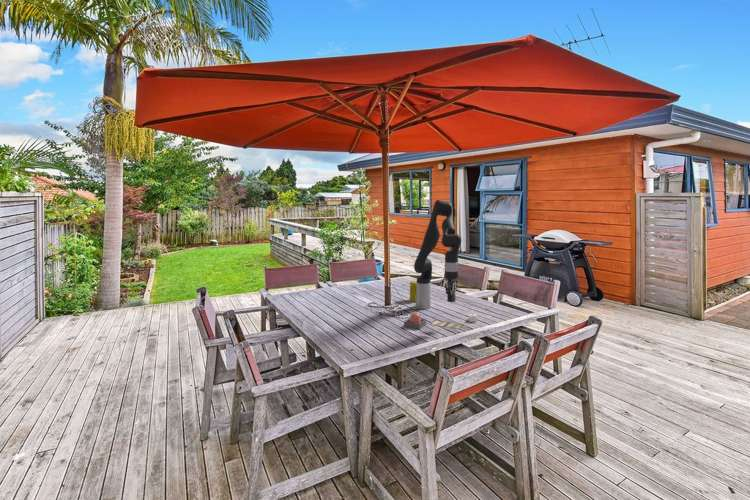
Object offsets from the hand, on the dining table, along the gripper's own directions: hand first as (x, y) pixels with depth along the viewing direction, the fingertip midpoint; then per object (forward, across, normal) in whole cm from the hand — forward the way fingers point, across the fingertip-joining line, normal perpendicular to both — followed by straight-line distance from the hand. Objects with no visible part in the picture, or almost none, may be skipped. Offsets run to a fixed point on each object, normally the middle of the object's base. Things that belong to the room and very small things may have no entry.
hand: (451, 299), depth 208 cm
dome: (+13, -10, +18) cm, 24 cm away
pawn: (+1, 0, 0) cm, 1 cm away
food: (+15, +45, +43) cm, 64 cm away
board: (+16, +1, +3) cm, 16 cm away
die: (+16, +15, -8) cm, 23 cm away
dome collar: (+16, -10, +18) cm, 26 cm away
